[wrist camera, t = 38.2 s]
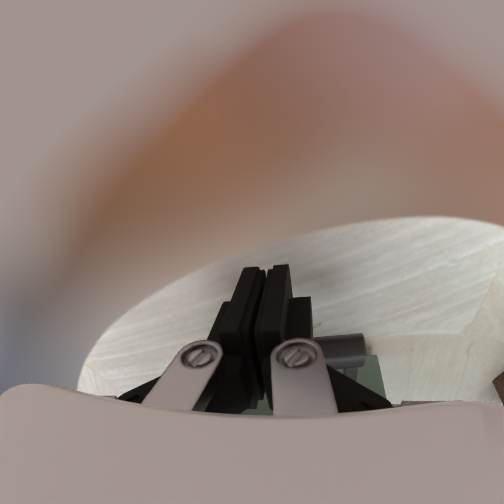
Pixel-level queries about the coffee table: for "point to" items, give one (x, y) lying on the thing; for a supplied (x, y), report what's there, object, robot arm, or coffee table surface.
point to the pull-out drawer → (342, 365)
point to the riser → (500, 386)
